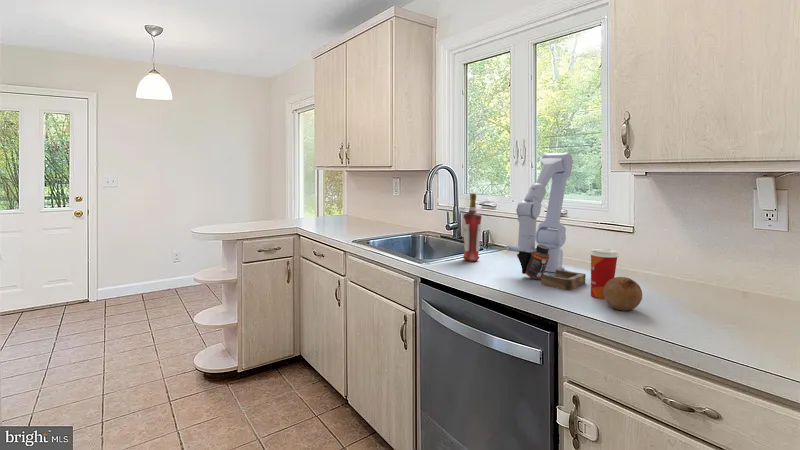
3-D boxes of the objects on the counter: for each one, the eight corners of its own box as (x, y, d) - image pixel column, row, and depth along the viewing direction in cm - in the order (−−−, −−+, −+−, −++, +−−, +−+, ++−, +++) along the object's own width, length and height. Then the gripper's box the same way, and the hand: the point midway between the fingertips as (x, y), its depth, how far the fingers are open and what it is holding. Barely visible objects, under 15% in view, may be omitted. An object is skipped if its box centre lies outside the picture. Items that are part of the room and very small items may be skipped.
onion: (631, 324, 112) (645, 296, 106) (595, 308, 116) (606, 281, 111) (637, 303, 119) (650, 276, 113) (602, 289, 123) (613, 263, 117)
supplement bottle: (542, 281, 144) (553, 251, 141) (525, 277, 145) (535, 247, 142) (540, 274, 150) (551, 245, 146) (524, 270, 151) (533, 241, 147)
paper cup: (592, 291, 132) (595, 247, 130) (619, 296, 127) (622, 250, 125) (582, 296, 127) (585, 250, 125) (609, 302, 121) (613, 254, 119)
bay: (557, 278, 148) (557, 269, 148) (585, 283, 142) (585, 274, 141) (541, 284, 139) (541, 275, 139) (570, 290, 133) (570, 280, 132)
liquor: (461, 258, 180) (462, 192, 177) (478, 258, 180) (480, 193, 177) (463, 262, 173) (465, 193, 169) (481, 262, 173) (483, 194, 169)
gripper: (502, 234, 150) (500, 271, 152) (541, 238, 140) (538, 279, 142) (512, 232, 155) (510, 268, 157) (550, 237, 145) (548, 275, 147)
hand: (524, 273), depth 150 cm, fingers closed, pressing on supplement bottle
